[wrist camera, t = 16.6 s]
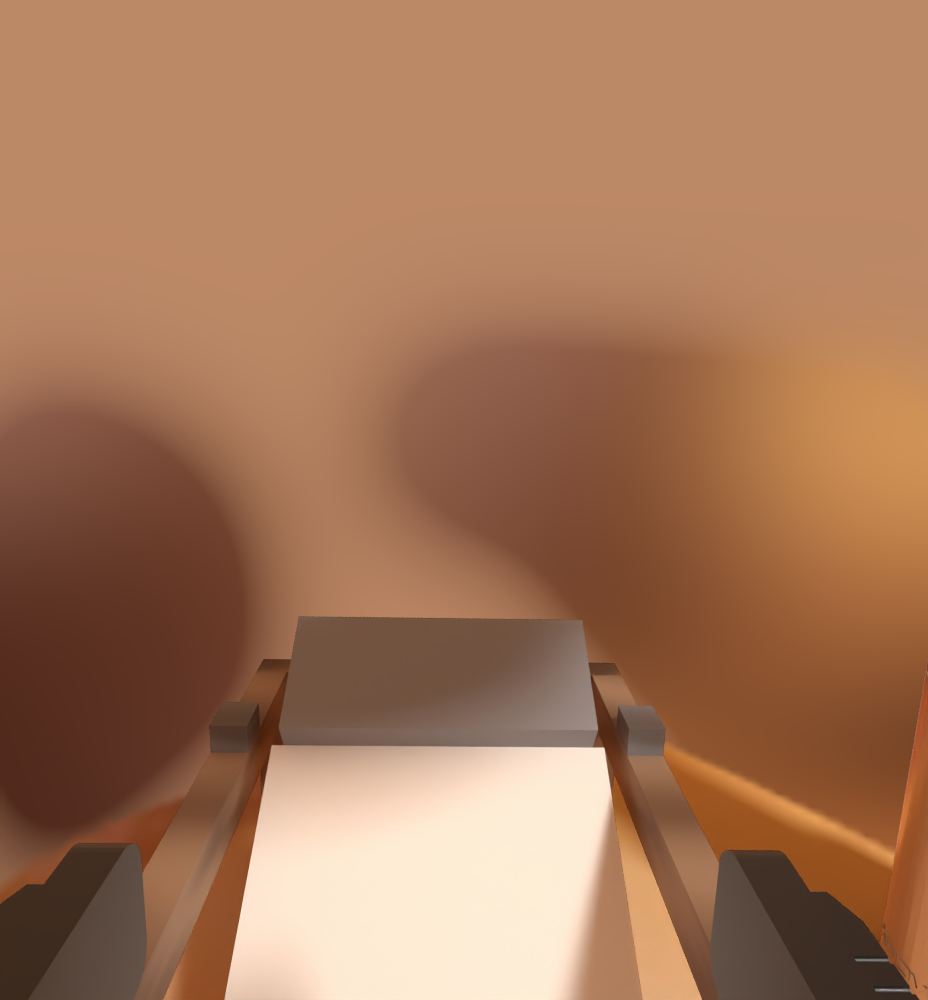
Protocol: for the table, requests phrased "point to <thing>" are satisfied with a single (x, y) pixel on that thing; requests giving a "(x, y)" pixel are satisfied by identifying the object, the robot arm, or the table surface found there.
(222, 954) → the table surface
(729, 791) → the table surface
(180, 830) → the frame
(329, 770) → the trapdoor
